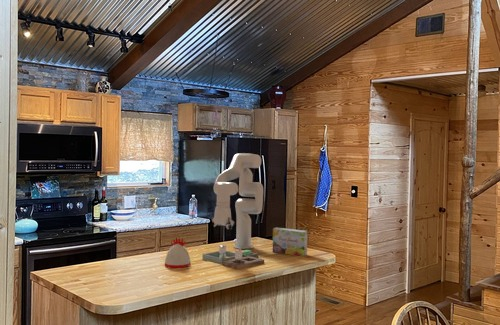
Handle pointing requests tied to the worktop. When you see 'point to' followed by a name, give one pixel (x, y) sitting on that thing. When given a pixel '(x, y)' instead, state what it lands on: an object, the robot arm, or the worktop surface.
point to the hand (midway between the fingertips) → (222, 234)
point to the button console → (250, 255)
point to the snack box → (290, 241)
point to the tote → (215, 257)
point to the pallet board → (243, 262)
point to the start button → (247, 252)
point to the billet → (222, 251)
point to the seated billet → (238, 256)
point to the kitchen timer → (177, 255)
